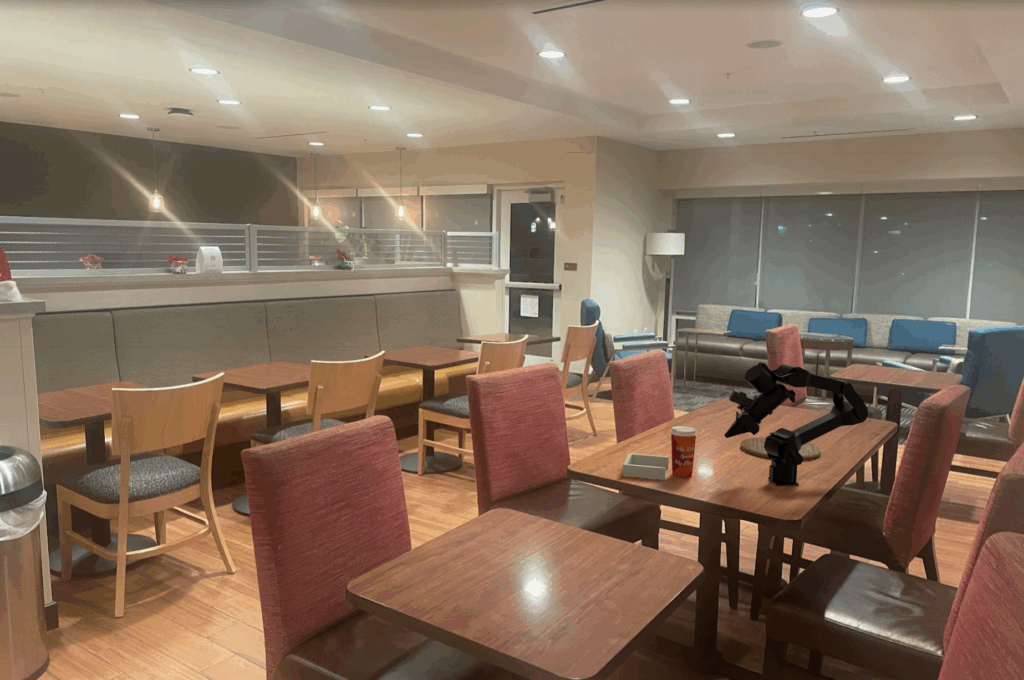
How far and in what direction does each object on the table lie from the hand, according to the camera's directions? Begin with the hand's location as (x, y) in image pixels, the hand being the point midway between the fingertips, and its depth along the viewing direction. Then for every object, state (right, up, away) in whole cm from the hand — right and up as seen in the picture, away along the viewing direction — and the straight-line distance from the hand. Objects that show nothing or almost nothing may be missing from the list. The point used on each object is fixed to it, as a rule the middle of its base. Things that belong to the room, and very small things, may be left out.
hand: (725, 436), depth 202 cm
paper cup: (-11, -12, +5) cm, 17 cm away
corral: (-21, -12, +8) cm, 25 cm away
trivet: (+28, -10, +33) cm, 45 cm away
